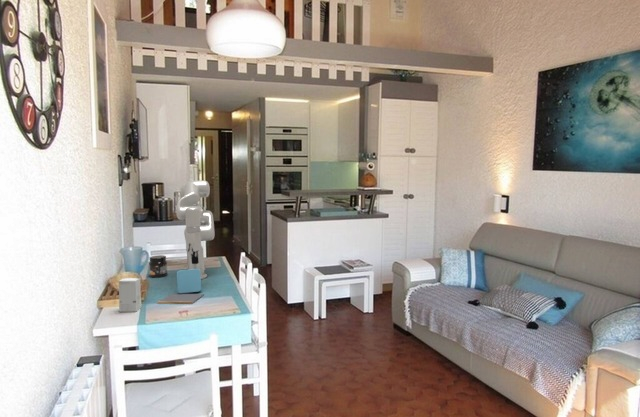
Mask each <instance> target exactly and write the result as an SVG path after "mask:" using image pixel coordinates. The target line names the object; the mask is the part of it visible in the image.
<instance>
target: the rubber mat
mask: <svg viewBox="0 0 640 417" xmlns="http://www.w3.org/2000/svg"><path fill="white" fill-rule="evenodd" d="M203 296H205V294H204V293H181V294H180V293H170V294H168V295H167V296H165V297H164V298H162V299H160V300H159V301H193V304H195V303H197V301H199V300H200V299H201V298H202V297H203Z"/></svg>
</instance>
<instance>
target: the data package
mask: <svg viewBox="0 0 640 417" xmlns="http://www.w3.org/2000/svg"><path fill="white" fill-rule="evenodd" d="M176 286H177V289H176V290H177V292H178V293H177V294H191V293H198V292H201V290H202V279H201V275H200V270H199V269H189V270H188V269H182V270H181V269H180V270H178V271H177V272H176Z"/></svg>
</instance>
